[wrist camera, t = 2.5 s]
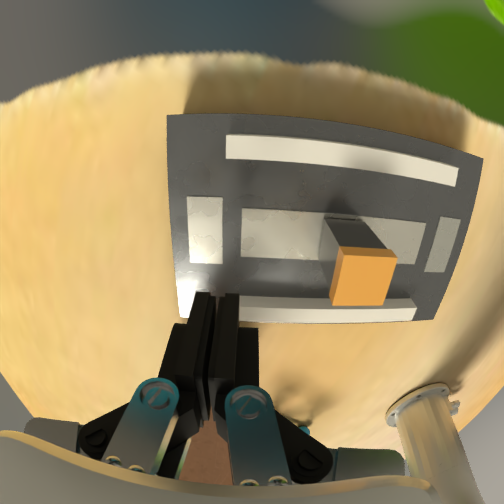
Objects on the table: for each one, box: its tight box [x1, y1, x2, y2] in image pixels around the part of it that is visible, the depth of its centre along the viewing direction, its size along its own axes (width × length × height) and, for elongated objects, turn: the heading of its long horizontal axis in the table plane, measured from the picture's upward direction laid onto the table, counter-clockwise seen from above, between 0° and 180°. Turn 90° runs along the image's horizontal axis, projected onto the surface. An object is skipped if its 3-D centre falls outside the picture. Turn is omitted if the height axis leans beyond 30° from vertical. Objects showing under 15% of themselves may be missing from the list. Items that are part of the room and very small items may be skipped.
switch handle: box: [318, 219, 398, 306], centre depth 17 cm, size 3×3×5 cm
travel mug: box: [178, 408, 233, 485], centre depth 22 cm, size 8×8×20 cm
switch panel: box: [167, 114, 483, 324], centre depth 21 cm, size 24×16×5 cm, turn 88°
